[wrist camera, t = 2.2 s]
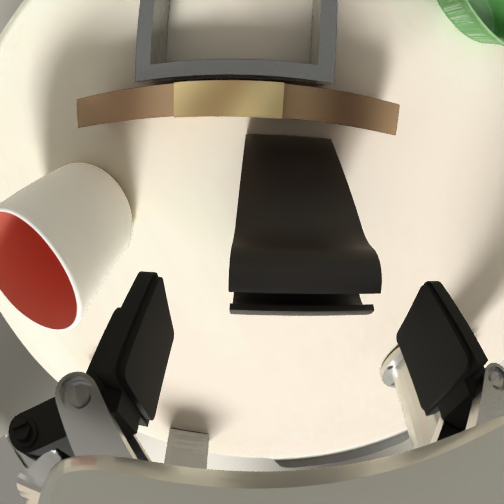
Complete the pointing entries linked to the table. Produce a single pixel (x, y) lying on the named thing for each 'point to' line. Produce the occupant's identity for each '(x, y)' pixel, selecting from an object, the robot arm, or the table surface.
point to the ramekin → (477, 18)
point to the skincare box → (187, 449)
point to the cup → (62, 243)
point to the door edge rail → (239, 104)
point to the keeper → (156, 68)
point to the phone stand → (298, 233)
